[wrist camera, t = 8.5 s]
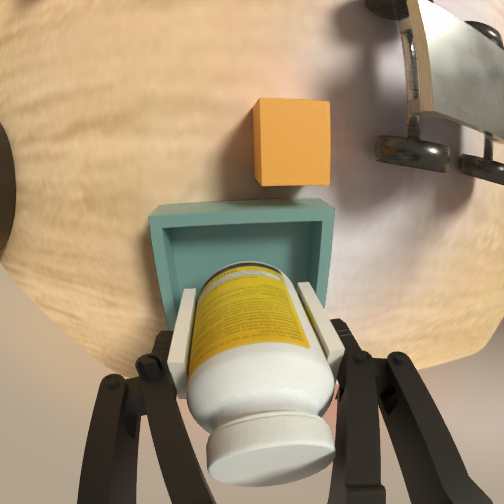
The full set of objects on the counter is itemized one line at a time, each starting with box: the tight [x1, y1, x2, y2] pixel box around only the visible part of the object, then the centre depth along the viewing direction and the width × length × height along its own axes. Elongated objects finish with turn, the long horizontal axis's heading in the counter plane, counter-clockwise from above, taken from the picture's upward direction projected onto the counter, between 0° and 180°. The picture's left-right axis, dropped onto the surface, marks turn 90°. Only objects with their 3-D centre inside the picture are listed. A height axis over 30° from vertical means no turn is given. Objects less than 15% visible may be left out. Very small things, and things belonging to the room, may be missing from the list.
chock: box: [253, 98, 330, 186], centre depth 16 cm, size 4×5×4 cm
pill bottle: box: [187, 261, 336, 487], centre depth 13 cm, size 6×6×12 cm
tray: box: [148, 199, 335, 331], centre depth 20 cm, size 12×12×3 cm
